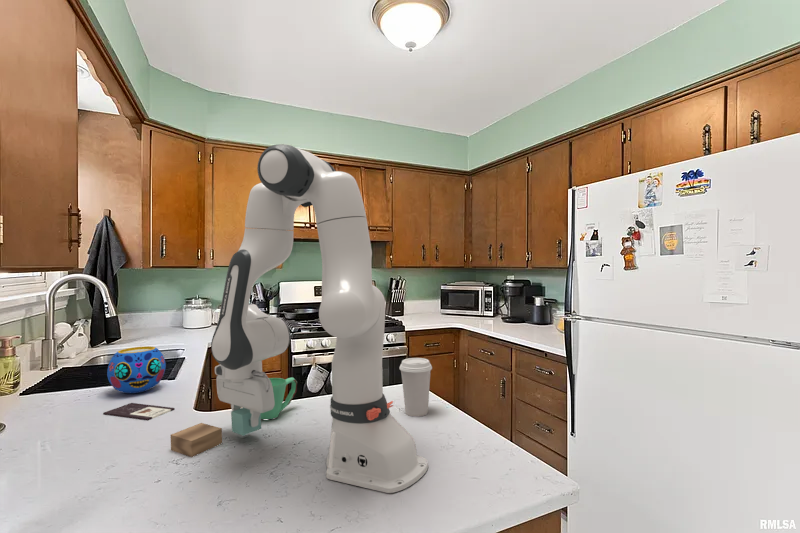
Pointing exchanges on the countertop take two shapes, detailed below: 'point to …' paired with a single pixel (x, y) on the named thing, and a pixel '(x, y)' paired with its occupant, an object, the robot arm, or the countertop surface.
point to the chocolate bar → (139, 411)
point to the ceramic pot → (136, 369)
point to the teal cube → (243, 421)
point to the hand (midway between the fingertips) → (246, 423)
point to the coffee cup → (416, 385)
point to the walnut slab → (196, 439)
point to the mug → (280, 396)
